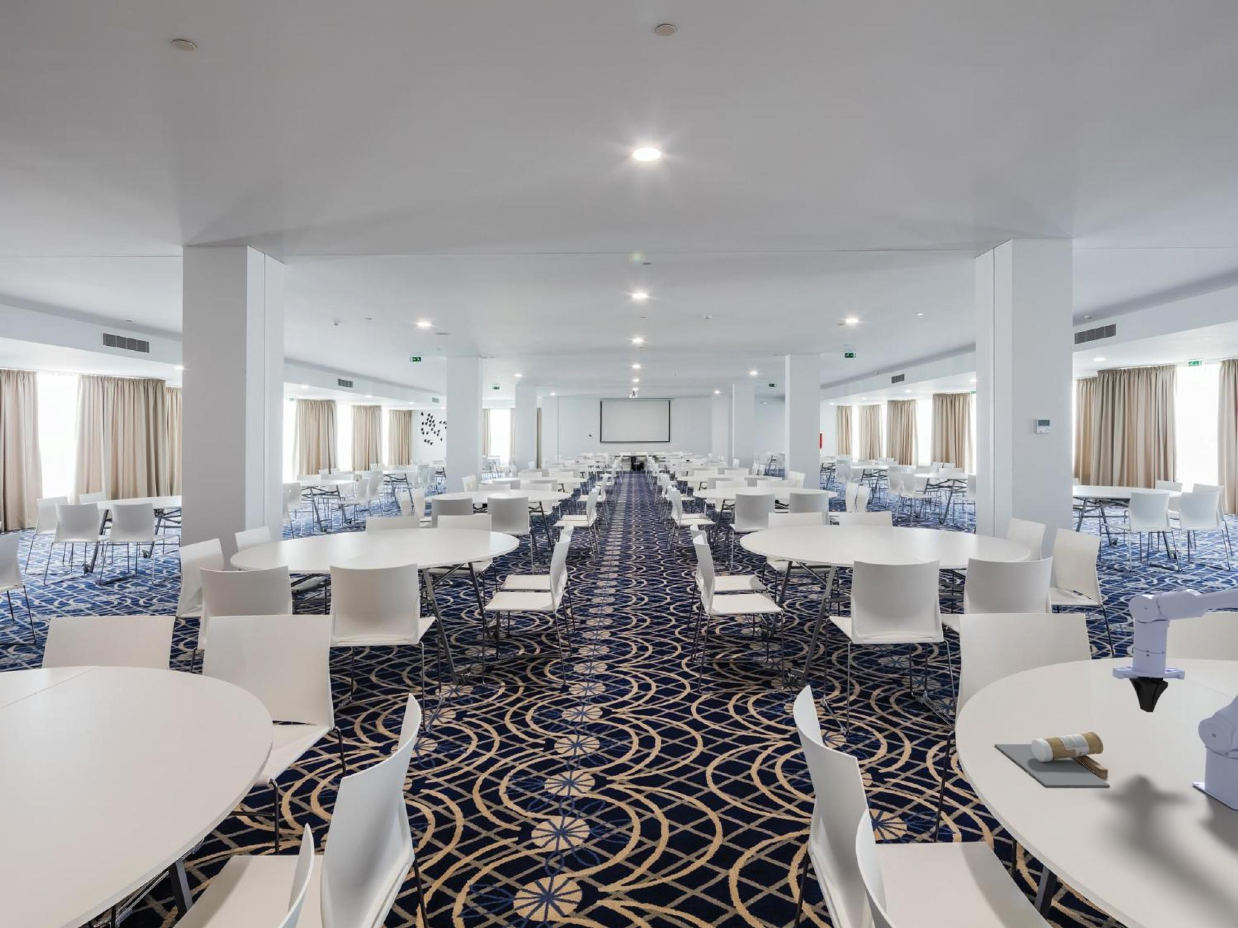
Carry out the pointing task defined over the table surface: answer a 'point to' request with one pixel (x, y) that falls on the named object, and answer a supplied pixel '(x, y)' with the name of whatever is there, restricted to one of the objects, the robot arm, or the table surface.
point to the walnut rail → (1093, 765)
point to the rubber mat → (1051, 768)
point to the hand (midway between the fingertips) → (1146, 710)
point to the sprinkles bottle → (1067, 746)
